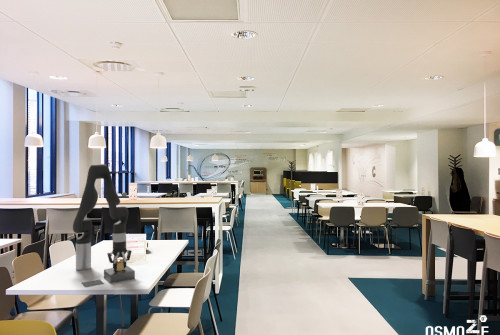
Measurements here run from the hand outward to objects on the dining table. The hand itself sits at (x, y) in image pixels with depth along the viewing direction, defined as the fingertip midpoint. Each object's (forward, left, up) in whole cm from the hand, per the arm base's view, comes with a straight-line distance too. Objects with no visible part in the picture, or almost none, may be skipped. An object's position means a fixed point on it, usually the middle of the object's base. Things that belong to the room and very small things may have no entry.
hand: (119, 268), depth 214 cm
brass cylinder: (0, 0, -6) cm, 6 cm away
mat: (+1, -15, -6) cm, 16 cm away
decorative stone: (-70, +37, -6) cm, 79 cm away
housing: (0, 0, -6) cm, 6 cm away
